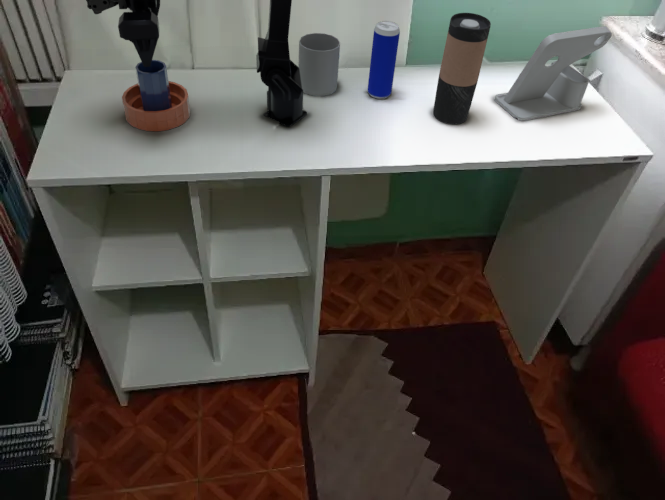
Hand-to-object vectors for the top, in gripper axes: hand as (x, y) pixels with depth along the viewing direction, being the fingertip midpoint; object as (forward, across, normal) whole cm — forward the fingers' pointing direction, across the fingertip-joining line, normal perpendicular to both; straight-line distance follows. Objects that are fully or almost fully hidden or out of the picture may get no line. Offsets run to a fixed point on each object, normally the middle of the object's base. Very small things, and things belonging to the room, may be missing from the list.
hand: (147, 54), depth 111 cm
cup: (+13, -9, +33) cm, 37 cm away
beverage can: (+13, -5, +46) cm, 48 cm away
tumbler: (+12, 0, 0) cm, 12 cm away
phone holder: (+13, +2, +80) cm, 81 cm away
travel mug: (+13, +5, +59) cm, 61 cm away
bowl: (+13, 0, 0) cm, 13 cm away
